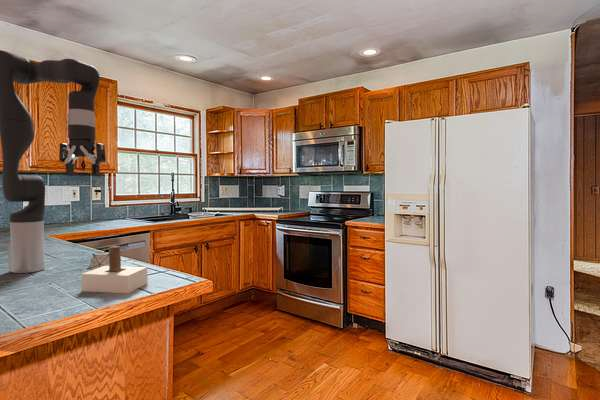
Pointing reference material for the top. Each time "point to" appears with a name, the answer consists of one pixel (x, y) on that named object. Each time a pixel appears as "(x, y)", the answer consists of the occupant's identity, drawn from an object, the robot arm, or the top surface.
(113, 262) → the peg
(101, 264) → the game die
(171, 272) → the top surface
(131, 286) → the hole block
